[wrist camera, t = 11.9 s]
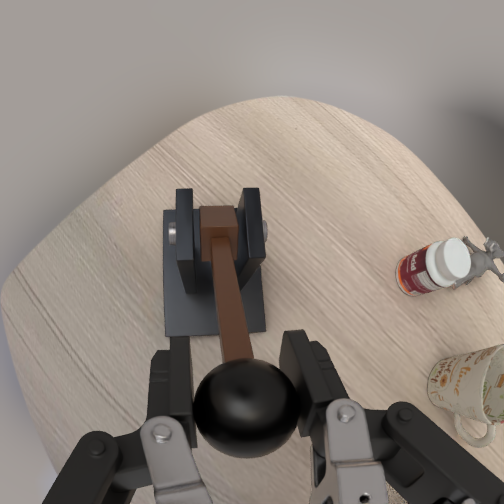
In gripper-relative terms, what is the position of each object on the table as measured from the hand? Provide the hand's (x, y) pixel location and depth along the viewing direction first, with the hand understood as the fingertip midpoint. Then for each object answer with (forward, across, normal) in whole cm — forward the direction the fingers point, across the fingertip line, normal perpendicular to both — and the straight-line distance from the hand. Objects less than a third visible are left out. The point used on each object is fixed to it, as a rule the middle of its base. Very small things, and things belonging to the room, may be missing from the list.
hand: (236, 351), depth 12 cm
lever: (+3, 0, +2) cm, 4 cm away
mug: (+6, -27, +19) cm, 33 cm away
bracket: (+17, 0, +7) cm, 19 cm away
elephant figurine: (+16, -32, +8) cm, 37 cm away
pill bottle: (+16, -22, +8) cm, 29 cm away
